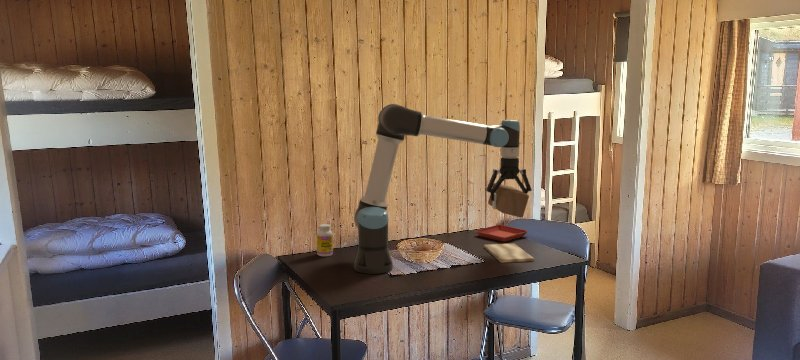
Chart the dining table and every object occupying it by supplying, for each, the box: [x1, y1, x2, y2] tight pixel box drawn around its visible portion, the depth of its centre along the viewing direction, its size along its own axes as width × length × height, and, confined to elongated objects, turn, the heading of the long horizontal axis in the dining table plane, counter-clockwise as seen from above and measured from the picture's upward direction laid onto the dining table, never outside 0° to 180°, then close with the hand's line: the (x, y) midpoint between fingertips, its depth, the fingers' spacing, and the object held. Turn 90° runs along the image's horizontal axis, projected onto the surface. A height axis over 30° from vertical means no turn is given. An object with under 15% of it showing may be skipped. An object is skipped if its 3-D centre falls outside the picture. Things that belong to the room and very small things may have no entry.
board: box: [483, 242, 535, 263], centre depth 266 cm, size 14×24×1 cm, turn 9°
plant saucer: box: [475, 224, 529, 243], centre depth 296 cm, size 18×18×3 cm
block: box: [487, 182, 530, 219], centre depth 264 cm, size 10×10×20 cm
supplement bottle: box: [316, 223, 334, 257], centre depth 264 cm, size 7×7×13 cm
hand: (508, 208), depth 264 cm, fingers closed on block, 12 cm apart
